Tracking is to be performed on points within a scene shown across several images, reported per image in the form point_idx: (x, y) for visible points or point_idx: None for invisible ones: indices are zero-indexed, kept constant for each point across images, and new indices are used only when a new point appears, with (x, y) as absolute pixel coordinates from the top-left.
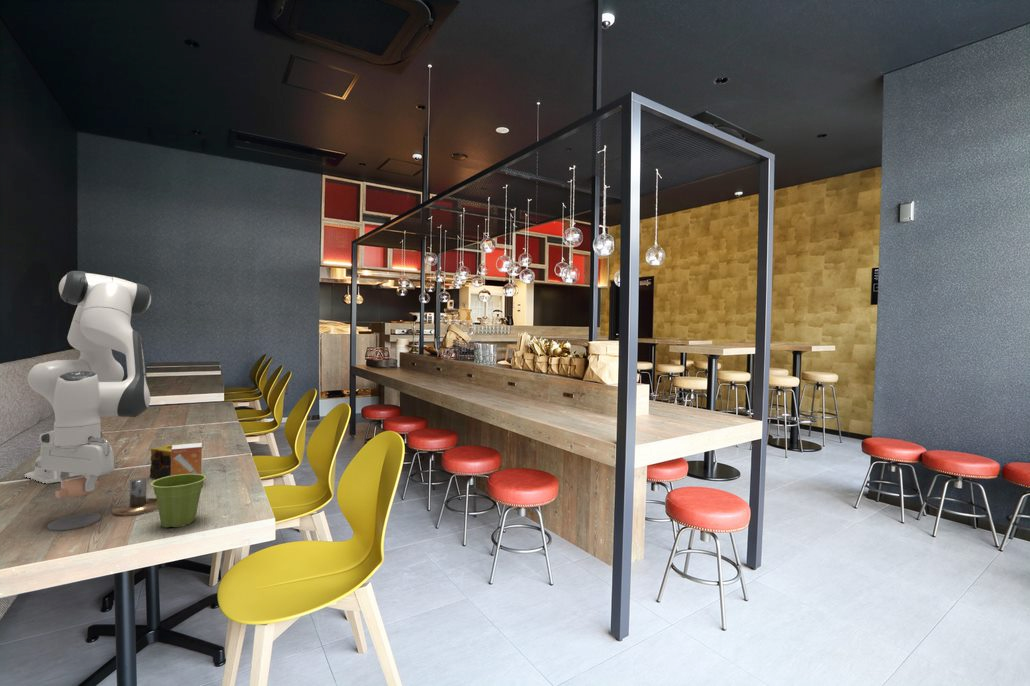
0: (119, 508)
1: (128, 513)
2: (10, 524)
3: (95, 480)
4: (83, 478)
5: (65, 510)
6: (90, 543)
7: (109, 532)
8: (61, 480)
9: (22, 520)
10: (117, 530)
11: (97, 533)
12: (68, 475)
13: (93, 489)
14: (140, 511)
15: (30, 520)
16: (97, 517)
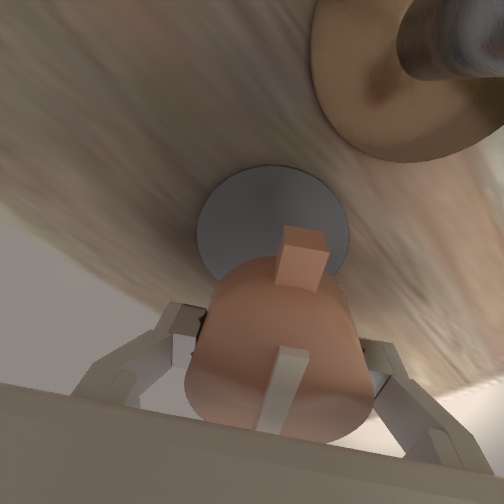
0: (364, 108)
1: (445, 153)
2: (85, 266)
3: (432, 405)
4: (328, 406)
5: (94, 123)
6: (444, 352)
7: (455, 295)
8: (157, 374)
9: (75, 236)
10: (475, 280)
11: (419, 303)
12: (139, 360)
13: (390, 345)
14: (500, 124)
15: (100, 234)
16: (330, 209)
